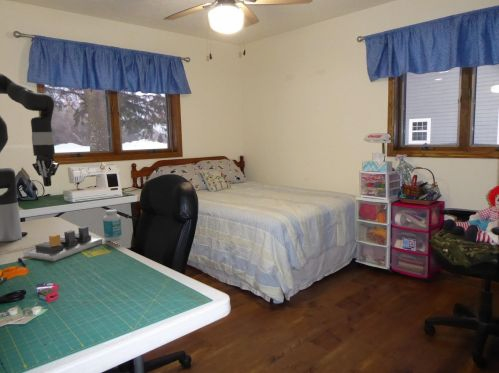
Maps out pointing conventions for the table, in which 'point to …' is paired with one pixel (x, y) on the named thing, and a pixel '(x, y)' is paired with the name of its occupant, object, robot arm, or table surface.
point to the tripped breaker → (54, 240)
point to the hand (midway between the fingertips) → (47, 186)
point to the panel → (56, 257)
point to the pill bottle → (112, 226)
